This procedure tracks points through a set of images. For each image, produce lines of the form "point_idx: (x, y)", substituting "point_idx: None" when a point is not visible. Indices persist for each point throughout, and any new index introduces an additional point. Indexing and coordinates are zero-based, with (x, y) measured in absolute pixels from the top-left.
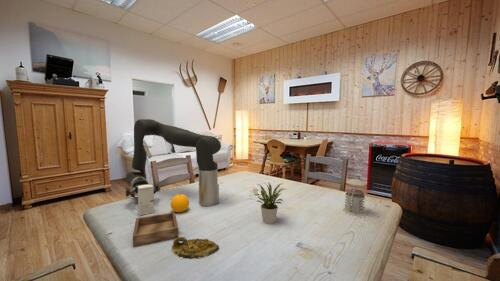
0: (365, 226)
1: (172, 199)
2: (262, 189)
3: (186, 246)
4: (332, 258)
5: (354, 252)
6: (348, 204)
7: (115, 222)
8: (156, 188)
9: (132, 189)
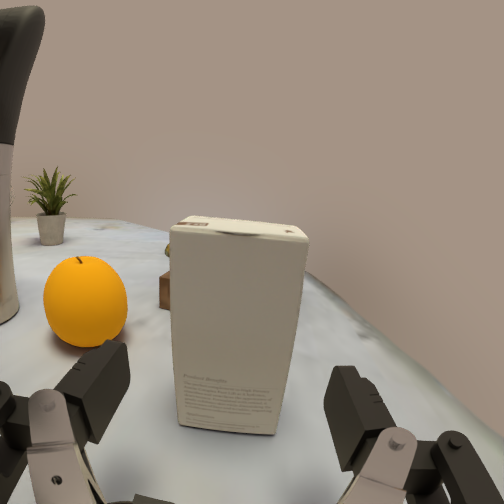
0: (33, 220)
1: (112, 283)
2: (45, 184)
3: None
4: (107, 223)
5: (88, 220)
6: None
7: (375, 383)
8: (27, 407)
9: (401, 483)
